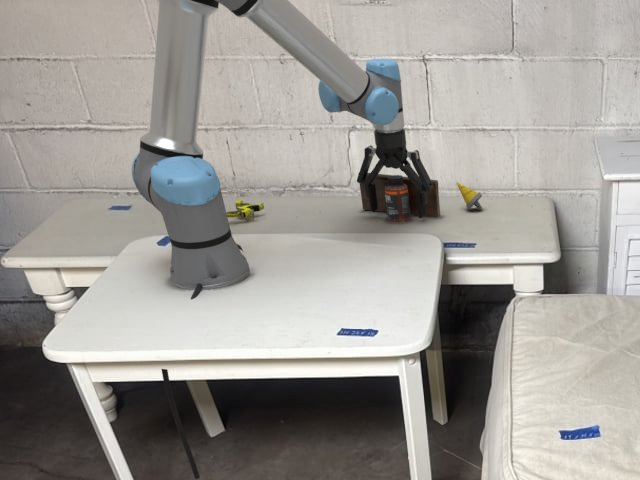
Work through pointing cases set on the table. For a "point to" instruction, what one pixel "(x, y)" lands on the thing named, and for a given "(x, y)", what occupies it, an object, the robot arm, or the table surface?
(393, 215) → the supplement bottle
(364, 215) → the table surface
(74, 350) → the table surface
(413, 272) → the table surface
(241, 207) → the yellow black clamp
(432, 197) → the wooden wall
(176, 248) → the robot arm
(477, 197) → the yellow spinning top
